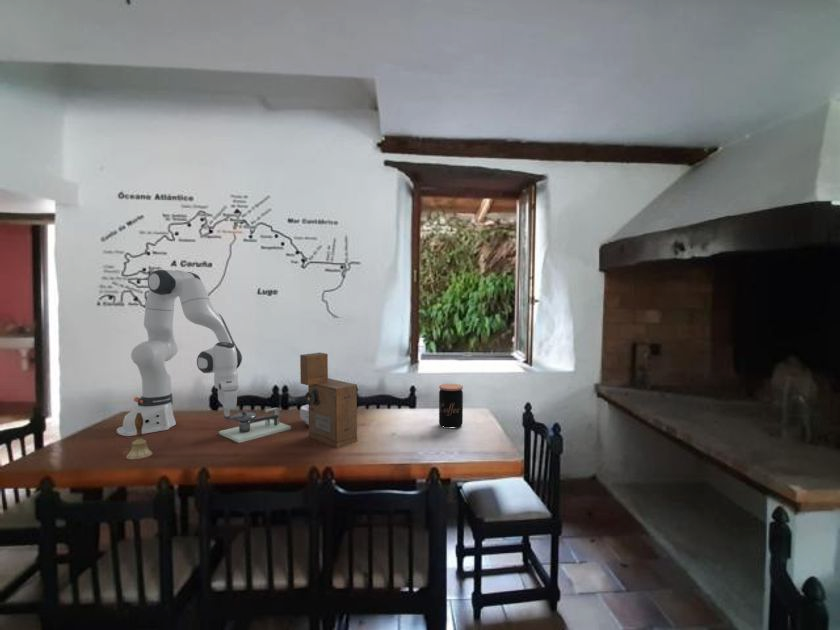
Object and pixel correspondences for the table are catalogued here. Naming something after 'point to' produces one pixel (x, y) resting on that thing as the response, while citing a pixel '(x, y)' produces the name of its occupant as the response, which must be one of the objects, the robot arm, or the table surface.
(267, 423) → the grey support bracket
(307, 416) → the paper bowls
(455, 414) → the coffee jar
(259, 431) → the board
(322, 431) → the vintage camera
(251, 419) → the telegraph key
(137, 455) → the hand bell
